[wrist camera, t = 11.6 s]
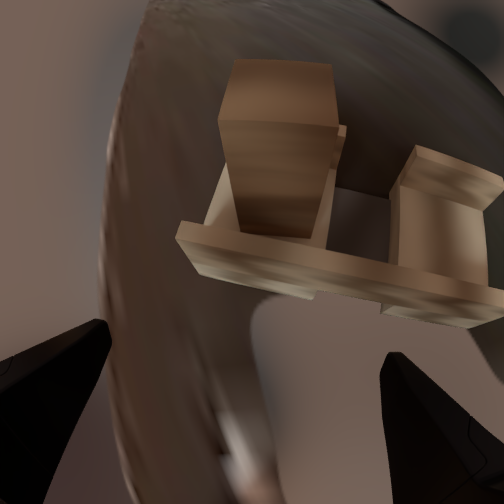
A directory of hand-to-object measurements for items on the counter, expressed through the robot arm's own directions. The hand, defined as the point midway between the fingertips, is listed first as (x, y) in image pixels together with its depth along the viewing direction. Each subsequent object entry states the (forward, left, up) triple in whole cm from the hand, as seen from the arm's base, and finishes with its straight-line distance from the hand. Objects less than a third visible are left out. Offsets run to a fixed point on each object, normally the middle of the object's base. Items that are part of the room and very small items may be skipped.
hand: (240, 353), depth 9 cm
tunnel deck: (+9, -9, -14) cm, 19 cm away
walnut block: (+11, -2, -11) cm, 16 cm away
